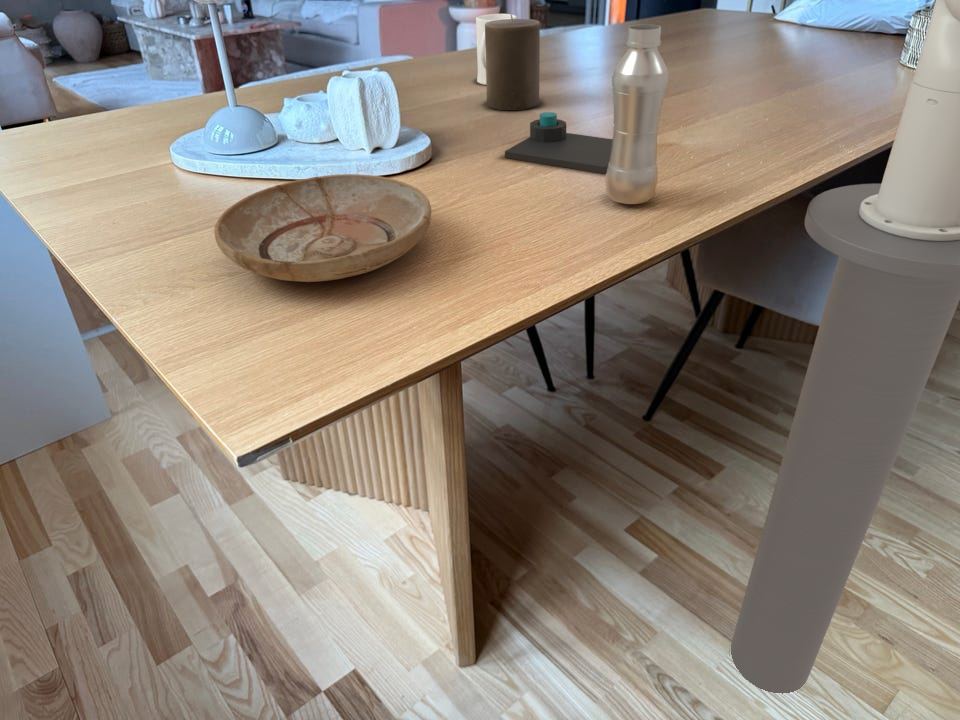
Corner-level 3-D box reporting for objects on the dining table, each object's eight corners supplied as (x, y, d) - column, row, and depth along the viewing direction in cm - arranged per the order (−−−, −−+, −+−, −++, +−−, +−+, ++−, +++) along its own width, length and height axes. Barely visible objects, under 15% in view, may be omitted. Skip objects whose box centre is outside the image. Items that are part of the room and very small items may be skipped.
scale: (637, 149, 105) (639, 129, 103) (604, 174, 96) (606, 152, 95) (541, 135, 112) (541, 116, 110) (503, 157, 104) (503, 137, 102)
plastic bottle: (603, 210, 86) (615, 33, 75) (603, 190, 91) (614, 22, 80) (657, 211, 85) (677, 32, 74) (653, 190, 90) (672, 21, 79)
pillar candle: (516, 114, 123) (515, 20, 114) (475, 105, 129) (472, 16, 120) (550, 102, 129) (552, 12, 120) (510, 94, 134) (509, 8, 126)
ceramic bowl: (177, 275, 75) (164, 232, 73) (322, 200, 92) (316, 163, 89) (343, 326, 65) (335, 278, 62) (473, 232, 82) (471, 191, 79)
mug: (499, 91, 137) (497, 24, 130) (461, 87, 141) (458, 22, 134) (525, 77, 146) (525, 14, 139) (489, 74, 149) (487, 12, 142)
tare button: (559, 124, 108) (559, 113, 107) (551, 129, 106) (552, 117, 105) (544, 122, 109) (544, 111, 108) (536, 127, 107) (536, 115, 106)
